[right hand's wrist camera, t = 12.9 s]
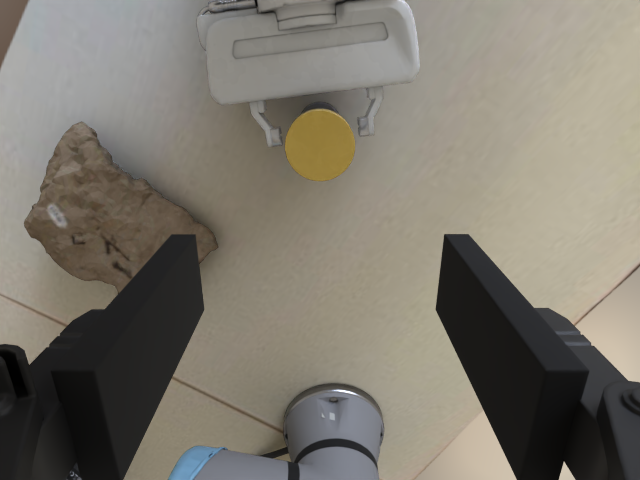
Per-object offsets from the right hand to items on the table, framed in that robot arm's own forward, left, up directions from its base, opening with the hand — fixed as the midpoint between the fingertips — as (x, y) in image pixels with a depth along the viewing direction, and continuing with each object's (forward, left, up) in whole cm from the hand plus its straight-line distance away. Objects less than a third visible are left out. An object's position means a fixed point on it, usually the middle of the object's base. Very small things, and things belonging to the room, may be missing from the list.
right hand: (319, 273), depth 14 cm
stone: (-25, +9, -39) cm, 47 cm away
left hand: (-1, -1, -33) cm, 33 cm away
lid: (0, 0, -24) cm, 24 cm away
